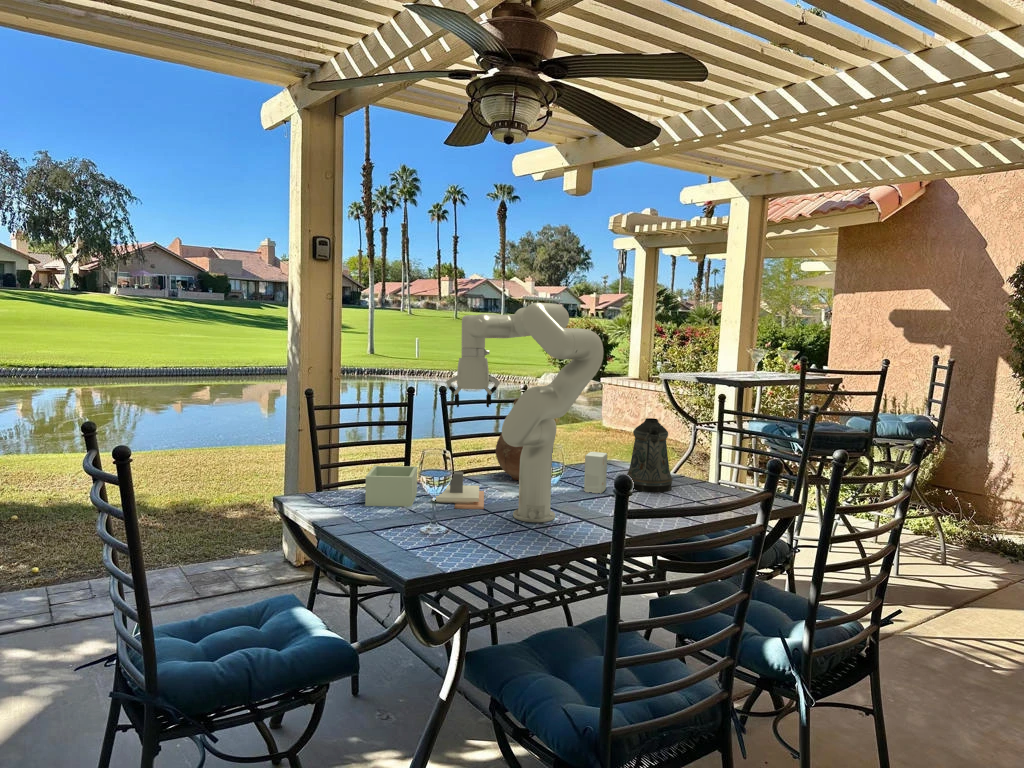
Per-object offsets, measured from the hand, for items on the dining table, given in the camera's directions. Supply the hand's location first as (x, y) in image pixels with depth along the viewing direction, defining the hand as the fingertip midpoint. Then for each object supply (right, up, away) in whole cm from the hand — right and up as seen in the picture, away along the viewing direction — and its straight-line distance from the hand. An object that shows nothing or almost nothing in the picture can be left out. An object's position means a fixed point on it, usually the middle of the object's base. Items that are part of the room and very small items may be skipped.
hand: (472, 406), depth 219 cm
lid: (-5, -29, 0) cm, 30 cm away
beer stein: (+63, -30, +25) cm, 74 cm away
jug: (+17, -28, +35) cm, 48 cm away
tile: (-5, -30, 0) cm, 31 cm away
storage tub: (-25, -30, -4) cm, 40 cm away
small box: (+42, -30, +19) cm, 55 cm away
